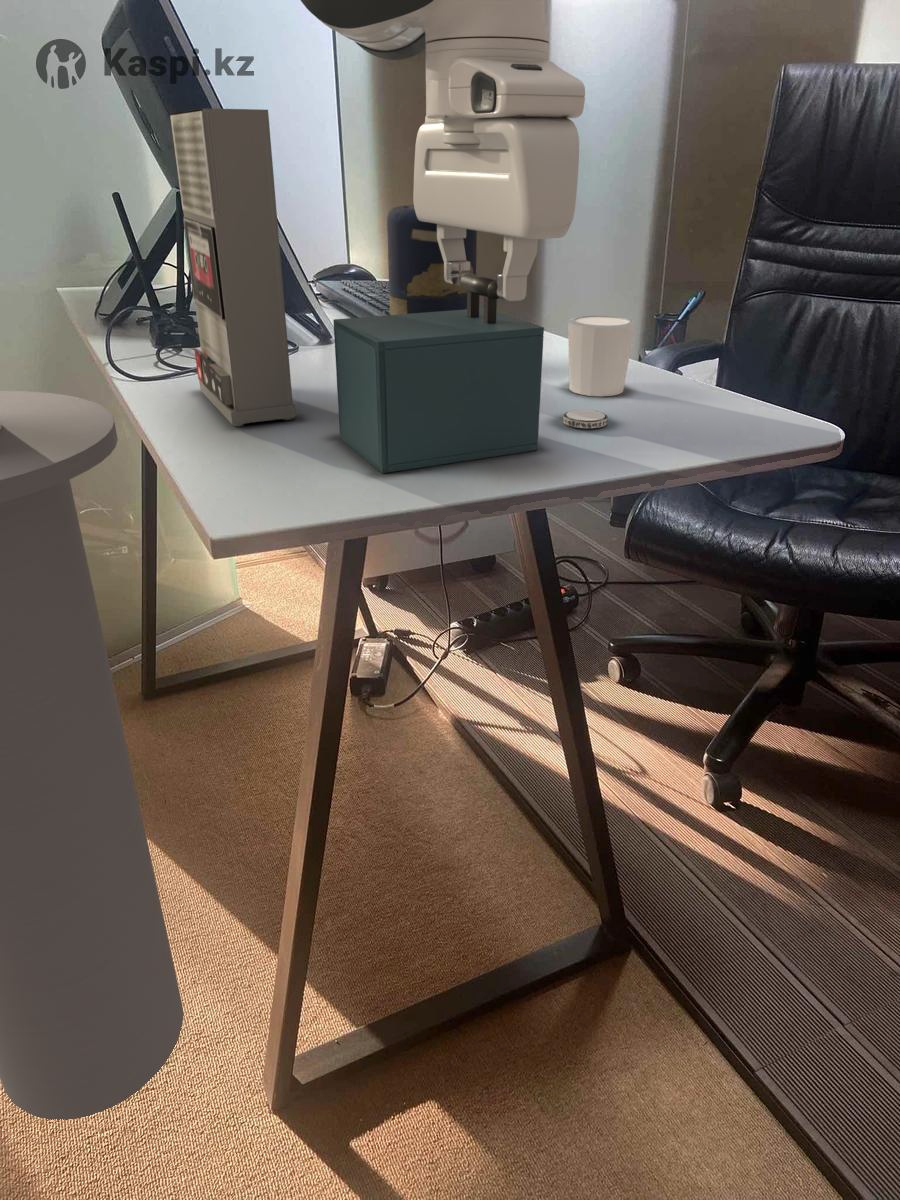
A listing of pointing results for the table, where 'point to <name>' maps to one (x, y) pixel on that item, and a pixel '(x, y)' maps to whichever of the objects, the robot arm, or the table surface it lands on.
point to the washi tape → (585, 419)
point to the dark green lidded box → (439, 383)
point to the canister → (421, 266)
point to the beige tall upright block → (234, 261)
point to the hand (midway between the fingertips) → (482, 291)
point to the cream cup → (599, 354)
